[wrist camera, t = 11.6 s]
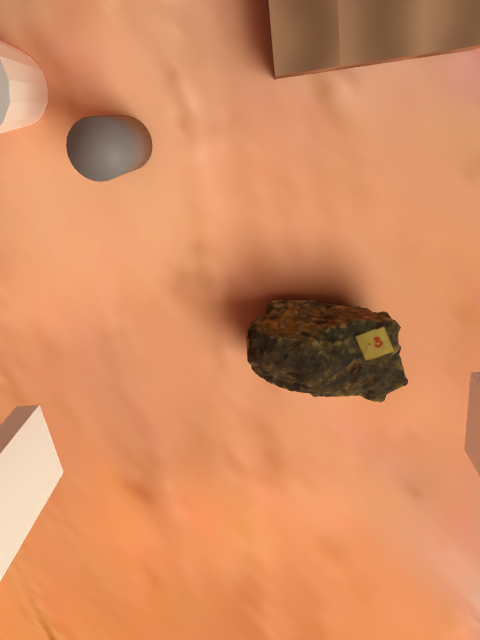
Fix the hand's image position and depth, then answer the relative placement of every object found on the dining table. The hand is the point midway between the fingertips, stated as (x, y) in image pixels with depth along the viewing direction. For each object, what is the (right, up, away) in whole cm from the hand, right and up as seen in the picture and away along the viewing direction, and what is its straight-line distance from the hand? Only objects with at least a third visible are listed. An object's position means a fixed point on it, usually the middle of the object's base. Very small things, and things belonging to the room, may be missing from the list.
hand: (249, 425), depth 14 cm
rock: (+7, +2, +28) cm, 29 cm away
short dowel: (-9, +17, +22) cm, 30 cm away
